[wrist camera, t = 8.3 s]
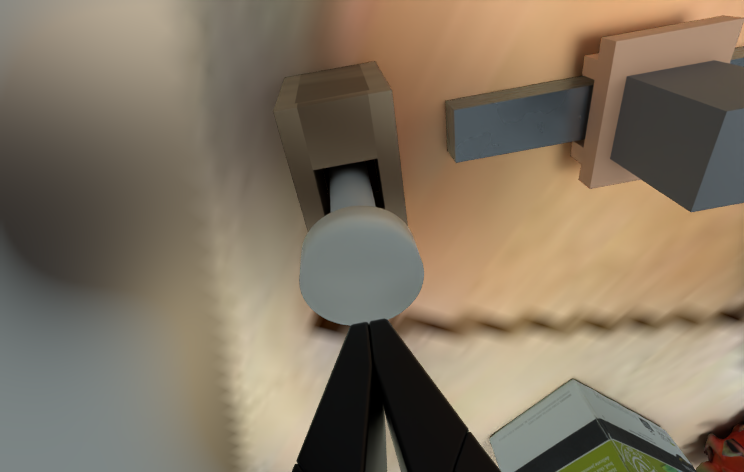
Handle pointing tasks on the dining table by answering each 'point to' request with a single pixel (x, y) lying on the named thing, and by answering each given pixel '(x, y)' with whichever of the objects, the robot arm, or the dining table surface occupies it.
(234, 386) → the dining table surface
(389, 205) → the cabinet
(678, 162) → the carriage
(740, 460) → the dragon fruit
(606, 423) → the tea box
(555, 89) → the rail
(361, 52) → the dining table surface
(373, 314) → the round gray button
